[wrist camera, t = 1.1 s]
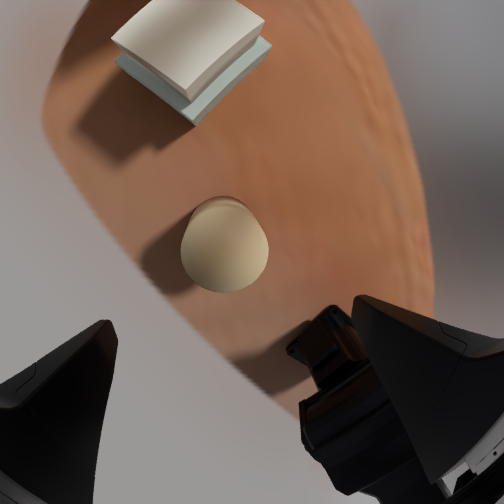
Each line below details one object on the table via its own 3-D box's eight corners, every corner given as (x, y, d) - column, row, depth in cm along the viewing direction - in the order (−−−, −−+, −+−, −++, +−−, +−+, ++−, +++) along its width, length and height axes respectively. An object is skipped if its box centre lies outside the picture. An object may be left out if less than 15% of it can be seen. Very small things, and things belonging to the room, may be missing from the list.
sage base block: (262, 62, 16) (272, 45, 13) (196, 126, 17) (192, 120, 14) (195, 13, 14) (192, -9, 11) (129, 75, 15) (114, 61, 12)
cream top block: (254, 44, 13) (265, 20, 10) (191, 103, 14) (185, 89, 10) (191, 2, 11) (187, -26, 8) (128, 58, 12) (110, 38, 9)
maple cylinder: (269, 225, 20) (286, 248, 16) (226, 273, 21) (229, 306, 17) (218, 182, 19) (219, 190, 14) (175, 234, 20) (163, 259, 15)
